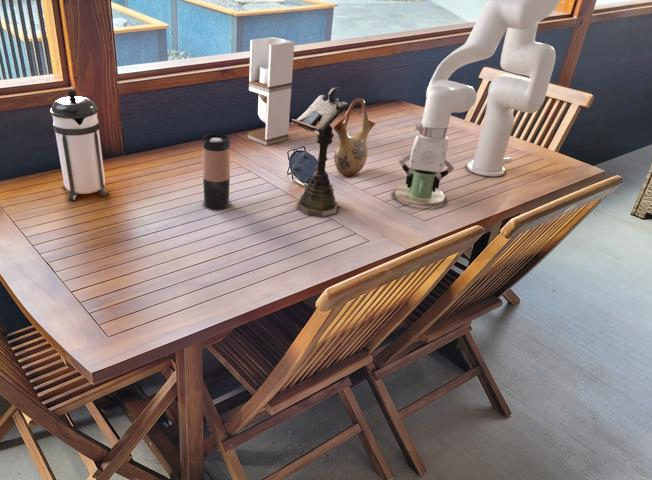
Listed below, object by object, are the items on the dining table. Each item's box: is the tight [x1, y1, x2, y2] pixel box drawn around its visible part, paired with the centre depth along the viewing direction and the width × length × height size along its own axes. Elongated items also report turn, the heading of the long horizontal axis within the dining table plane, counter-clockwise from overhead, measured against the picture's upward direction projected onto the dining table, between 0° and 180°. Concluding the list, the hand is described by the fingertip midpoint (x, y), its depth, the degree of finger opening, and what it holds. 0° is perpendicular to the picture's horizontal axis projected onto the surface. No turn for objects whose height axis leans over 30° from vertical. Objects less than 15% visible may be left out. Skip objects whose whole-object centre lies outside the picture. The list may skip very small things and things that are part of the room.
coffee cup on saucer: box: [394, 170, 446, 207], centre depth 175 cm, size 15×15×8 cm
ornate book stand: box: [290, 86, 349, 217], centre depth 157 cm, size 17×13×35 cm
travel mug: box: [202, 133, 231, 211], centre depth 163 cm, size 8×8×20 cm
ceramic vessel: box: [333, 97, 376, 177], centre depth 185 cm, size 16×9×25 cm, turn 121°
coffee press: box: [49, 89, 109, 201], centre depth 165 cm, size 17×16×30 cm
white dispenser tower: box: [247, 36, 296, 146], centre depth 210 cm, size 11×11×35 cm
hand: (421, 187), depth 176 cm, fingers closed on coffee cup on saucer, 7 cm apart
